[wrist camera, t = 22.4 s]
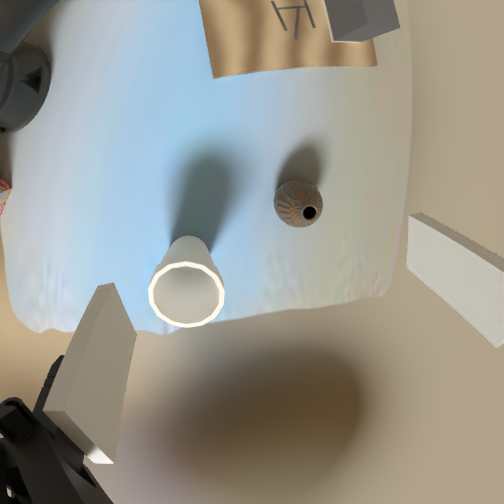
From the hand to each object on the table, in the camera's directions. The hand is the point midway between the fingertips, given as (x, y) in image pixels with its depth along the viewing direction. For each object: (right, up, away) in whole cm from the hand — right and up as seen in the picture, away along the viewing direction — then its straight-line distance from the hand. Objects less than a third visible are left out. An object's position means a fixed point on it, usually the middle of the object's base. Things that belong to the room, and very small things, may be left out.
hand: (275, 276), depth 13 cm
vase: (+5, +10, +35) cm, 37 cm away
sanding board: (+5, +35, +24) cm, 43 cm away
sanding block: (+13, +37, +23) cm, 45 cm away
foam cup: (-11, +1, +36) cm, 38 cm away
